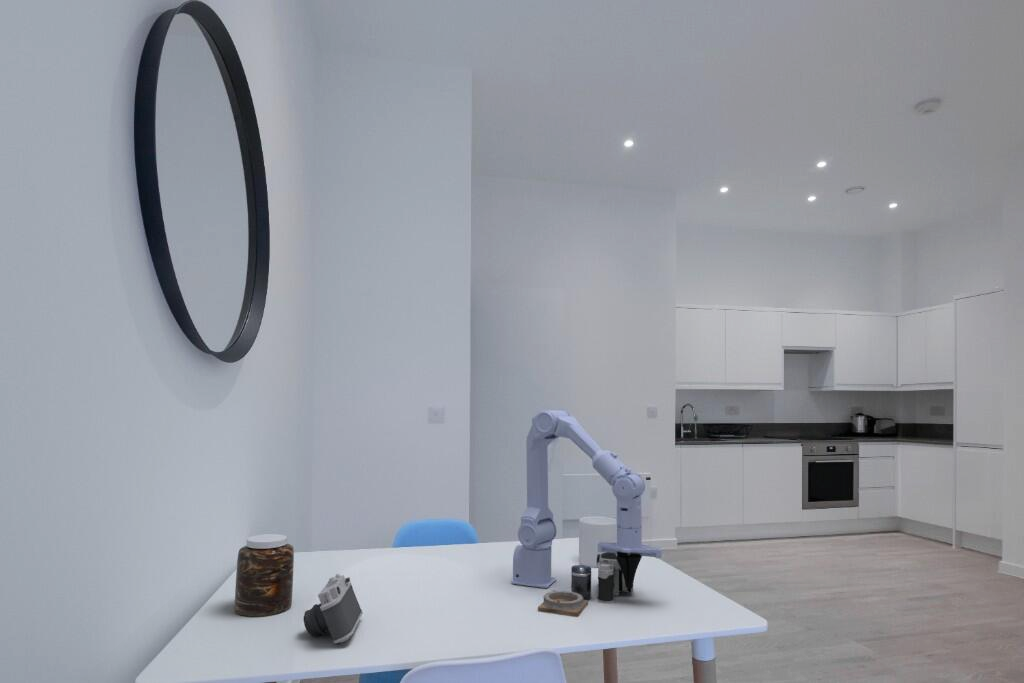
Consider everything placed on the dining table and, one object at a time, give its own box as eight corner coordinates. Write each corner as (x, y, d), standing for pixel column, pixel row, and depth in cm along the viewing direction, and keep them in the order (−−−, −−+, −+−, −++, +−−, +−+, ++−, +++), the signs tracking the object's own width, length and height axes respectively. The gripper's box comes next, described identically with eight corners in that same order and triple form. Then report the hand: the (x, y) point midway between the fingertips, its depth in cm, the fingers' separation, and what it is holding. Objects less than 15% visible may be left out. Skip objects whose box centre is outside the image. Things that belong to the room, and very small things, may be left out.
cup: (579, 556, 182) (579, 515, 183) (619, 558, 180) (619, 517, 181) (578, 567, 170) (578, 523, 171) (620, 569, 169) (620, 524, 170)
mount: (537, 611, 134) (537, 599, 134) (550, 599, 142) (550, 587, 142) (577, 616, 131) (577, 604, 131) (587, 604, 139) (587, 592, 139)
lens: (568, 599, 142) (568, 568, 142) (574, 594, 146) (574, 563, 147) (588, 602, 140) (588, 570, 141) (593, 596, 144) (593, 565, 145)
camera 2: (632, 606, 138) (632, 561, 139) (594, 603, 140) (594, 558, 141) (633, 586, 153) (633, 545, 154) (598, 583, 155) (598, 543, 156)
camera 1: (367, 611, 128) (349, 565, 129) (355, 637, 113) (334, 584, 114) (325, 631, 127) (307, 584, 128) (307, 660, 111) (286, 606, 112)
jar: (296, 598, 140) (299, 531, 142) (286, 616, 129) (290, 543, 130) (241, 600, 138) (245, 532, 140) (227, 618, 127) (231, 544, 128)
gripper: (594, 527, 141) (594, 587, 140) (658, 532, 136) (658, 595, 135) (601, 521, 148) (601, 579, 146) (662, 526, 143) (663, 586, 141)
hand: (629, 586), depth 141 cm, fingers closed
